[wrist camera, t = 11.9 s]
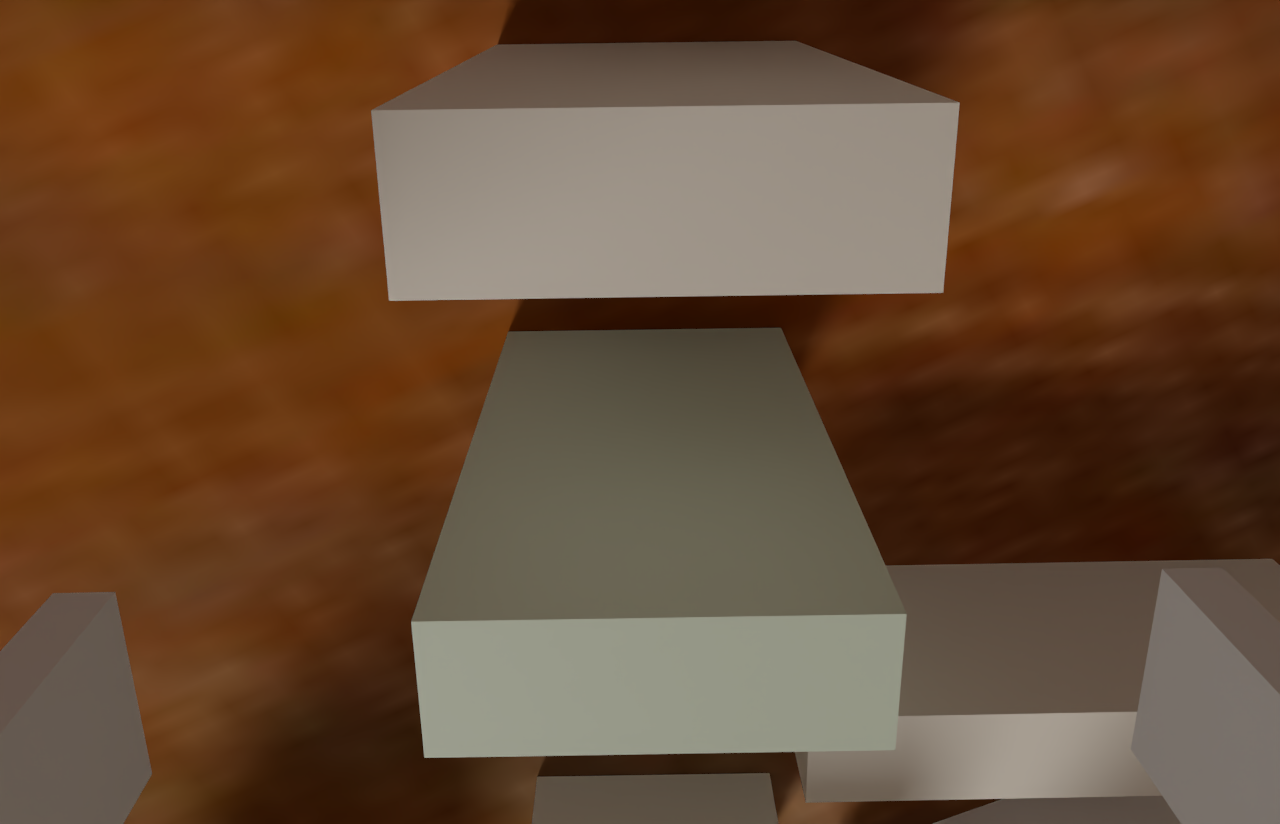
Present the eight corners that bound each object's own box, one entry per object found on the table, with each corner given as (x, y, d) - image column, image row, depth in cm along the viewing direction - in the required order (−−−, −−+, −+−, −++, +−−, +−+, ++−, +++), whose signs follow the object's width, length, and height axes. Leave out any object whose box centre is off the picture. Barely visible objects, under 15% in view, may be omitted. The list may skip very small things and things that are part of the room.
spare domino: (778, 412, 26) (895, 749, 14) (512, 416, 26) (423, 757, 14) (780, 327, 25) (906, 614, 14) (508, 331, 25) (410, 621, 14)
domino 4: (769, 636, 28) (1254, 627, 28) (805, 802, 22) (1411, 790, 22) (772, 565, 27) (1269, 555, 27) (809, 717, 22) (1436, 706, 22)
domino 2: (792, 142, 23) (943, 293, 12) (502, 146, 23) (389, 300, 12) (796, 40, 23) (959, 103, 12) (497, 44, 23) (371, 110, 12)
